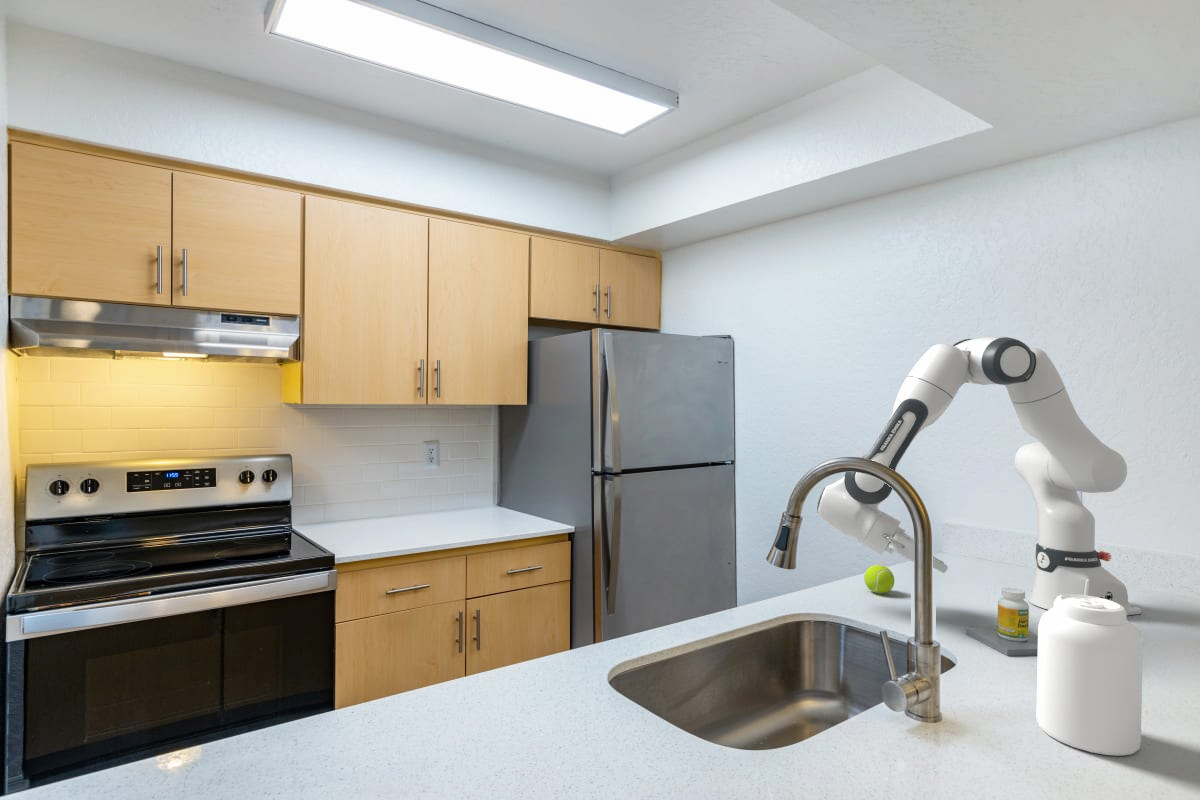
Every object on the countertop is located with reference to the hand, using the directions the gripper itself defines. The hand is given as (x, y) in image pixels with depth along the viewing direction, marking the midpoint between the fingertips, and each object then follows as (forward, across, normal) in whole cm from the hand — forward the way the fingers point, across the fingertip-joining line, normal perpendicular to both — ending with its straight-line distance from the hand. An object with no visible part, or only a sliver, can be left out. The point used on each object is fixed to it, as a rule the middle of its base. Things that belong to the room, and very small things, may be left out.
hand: (944, 568), depth 148 cm
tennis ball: (-8, +19, +14) cm, 25 cm away
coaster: (+16, -7, +6) cm, 19 cm away
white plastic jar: (+23, -44, +10) cm, 51 cm away
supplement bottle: (+16, -7, +6) cm, 18 cm away
